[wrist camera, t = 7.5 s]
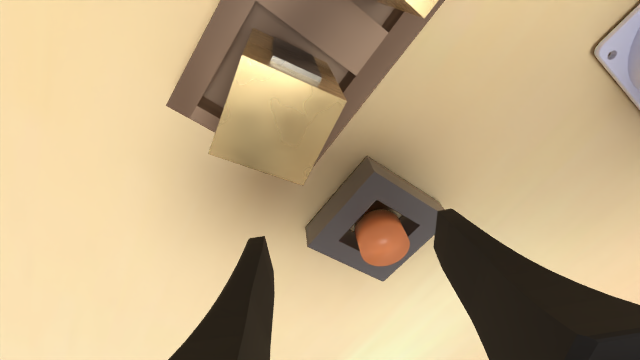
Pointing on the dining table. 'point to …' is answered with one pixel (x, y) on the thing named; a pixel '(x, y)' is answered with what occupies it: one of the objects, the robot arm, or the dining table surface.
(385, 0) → the block
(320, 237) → the button housing
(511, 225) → the dining table surface
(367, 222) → the button
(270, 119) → the block
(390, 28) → the brown compartment tray
